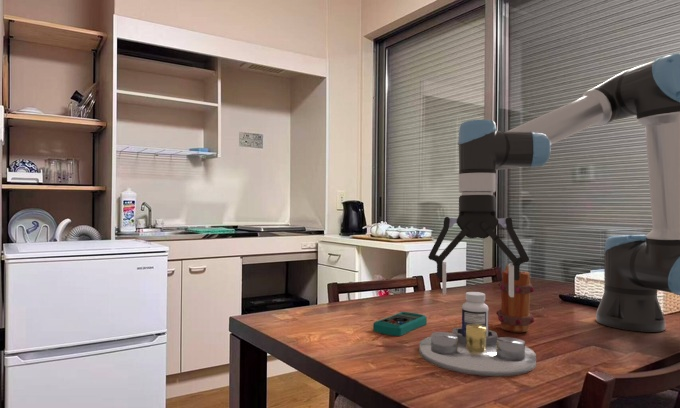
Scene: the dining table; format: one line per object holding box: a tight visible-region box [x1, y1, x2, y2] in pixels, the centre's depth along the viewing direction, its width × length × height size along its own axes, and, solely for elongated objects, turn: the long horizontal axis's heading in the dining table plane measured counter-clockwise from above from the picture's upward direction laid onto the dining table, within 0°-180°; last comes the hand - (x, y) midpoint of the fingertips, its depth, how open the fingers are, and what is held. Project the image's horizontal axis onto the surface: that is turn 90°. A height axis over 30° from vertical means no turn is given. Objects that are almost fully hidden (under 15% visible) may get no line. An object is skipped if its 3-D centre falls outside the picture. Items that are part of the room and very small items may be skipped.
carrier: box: [418, 324, 537, 377], centre depth 92 cm, size 22×22×6 cm
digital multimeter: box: [372, 311, 428, 337], centre depth 113 cm, size 7×15×3 cm, turn 144°
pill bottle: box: [461, 291, 490, 337], centre depth 98 cm, size 5×5×10 cm
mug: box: [495, 264, 535, 334], centre depth 115 cm, size 15×8×15 cm, turn 168°
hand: (477, 294), depth 99 cm, fingers open, 13 cm apart
